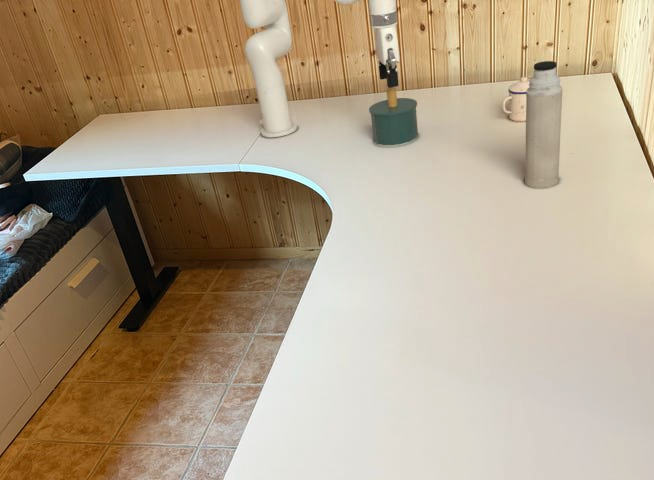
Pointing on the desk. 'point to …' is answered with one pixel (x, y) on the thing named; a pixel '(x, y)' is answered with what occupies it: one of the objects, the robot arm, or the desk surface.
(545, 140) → the thermos bottle
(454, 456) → the desk surface
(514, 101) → the teacup with lid
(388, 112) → the lid
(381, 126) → the tin
